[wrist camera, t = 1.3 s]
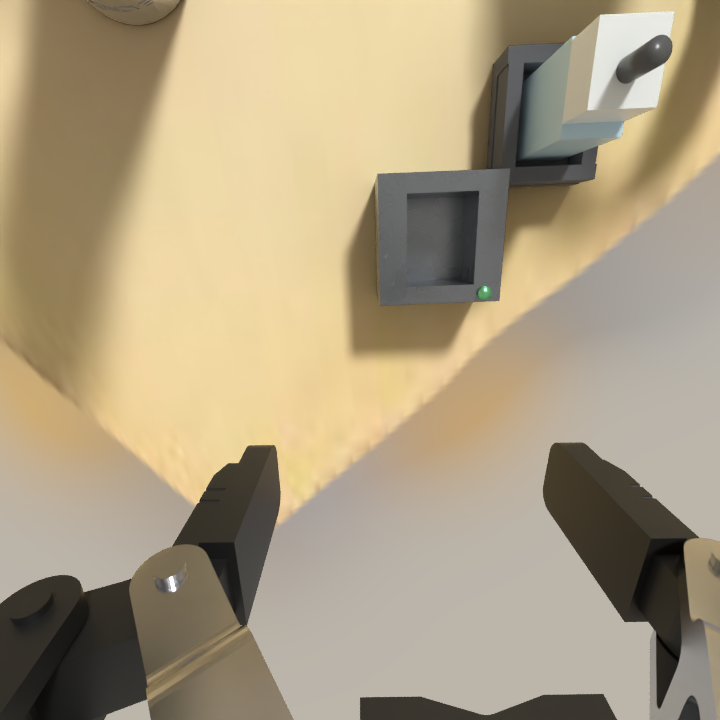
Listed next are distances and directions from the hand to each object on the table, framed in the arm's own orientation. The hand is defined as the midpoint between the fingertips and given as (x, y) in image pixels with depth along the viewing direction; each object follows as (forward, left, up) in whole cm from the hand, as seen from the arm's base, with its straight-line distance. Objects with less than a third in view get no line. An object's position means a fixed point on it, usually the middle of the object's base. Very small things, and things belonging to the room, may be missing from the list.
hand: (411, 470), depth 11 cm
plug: (-14, +13, -23) cm, 29 cm away
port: (-6, +5, -24) cm, 25 cm away
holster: (-14, +13, -24) cm, 30 cm away
